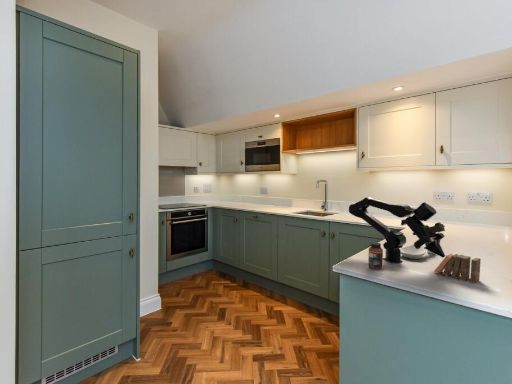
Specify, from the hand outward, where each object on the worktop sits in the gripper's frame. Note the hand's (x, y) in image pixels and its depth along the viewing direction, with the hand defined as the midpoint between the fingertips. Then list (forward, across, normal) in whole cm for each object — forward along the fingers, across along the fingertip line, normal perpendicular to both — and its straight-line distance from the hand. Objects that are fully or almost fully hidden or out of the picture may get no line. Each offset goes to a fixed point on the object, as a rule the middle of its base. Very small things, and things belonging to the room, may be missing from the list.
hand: (444, 256), depth 120 cm
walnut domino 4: (+13, 0, -3) cm, 13 cm away
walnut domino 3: (+11, 0, 0) cm, 11 cm away
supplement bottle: (-10, -17, +20) cm, 28 cm away
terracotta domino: (+3, 0, +6) cm, 7 cm away
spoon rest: (-8, +20, +19) cm, 28 cm away
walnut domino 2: (+8, 0, +2) cm, 8 cm away
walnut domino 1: (+6, 0, +4) cm, 7 cm away
